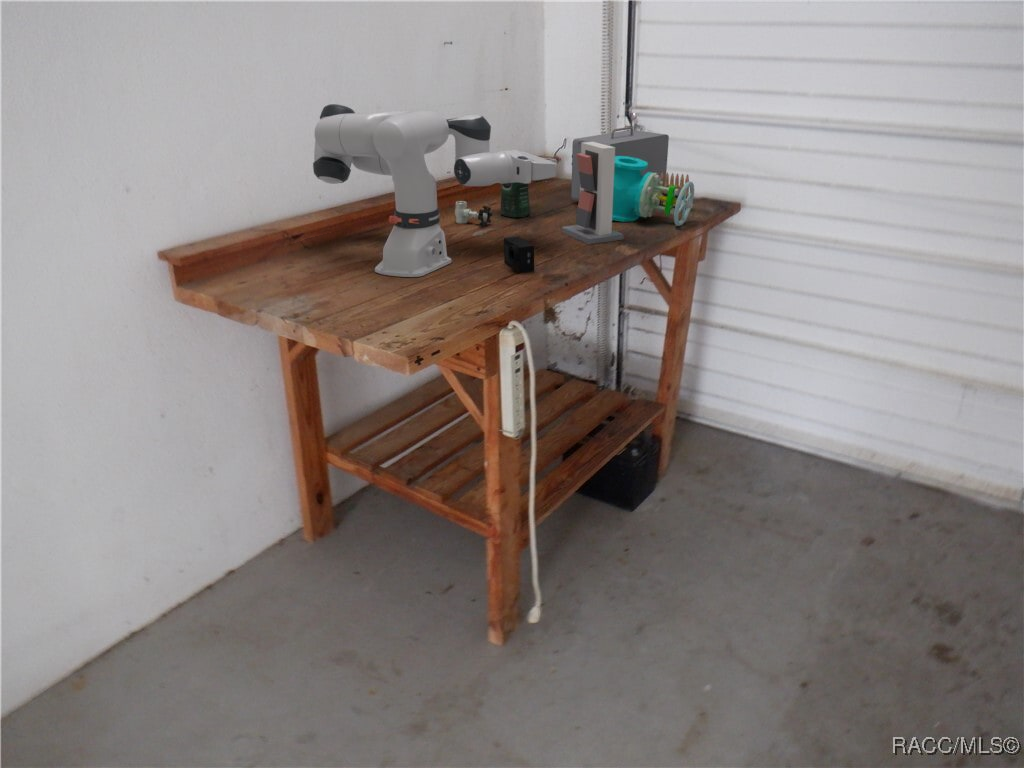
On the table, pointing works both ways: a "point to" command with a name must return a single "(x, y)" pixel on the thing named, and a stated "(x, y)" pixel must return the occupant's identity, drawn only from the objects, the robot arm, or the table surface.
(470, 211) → the valve
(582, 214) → the lower rocker
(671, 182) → the ammunition clip
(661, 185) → the valve
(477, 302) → the table surface
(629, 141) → the vintage electronic device
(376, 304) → the table surface
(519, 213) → the coffee jar
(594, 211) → the tower
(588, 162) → the upper rocker
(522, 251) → the digital camera
